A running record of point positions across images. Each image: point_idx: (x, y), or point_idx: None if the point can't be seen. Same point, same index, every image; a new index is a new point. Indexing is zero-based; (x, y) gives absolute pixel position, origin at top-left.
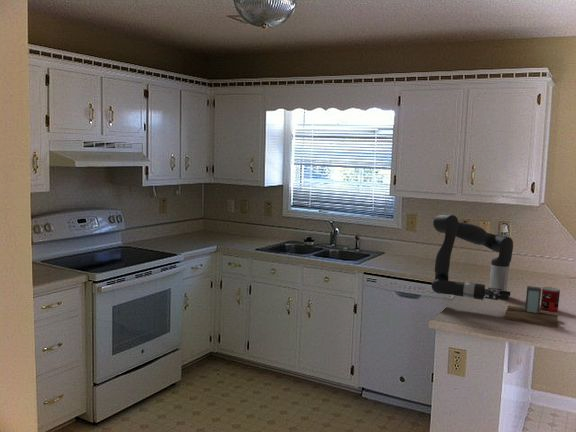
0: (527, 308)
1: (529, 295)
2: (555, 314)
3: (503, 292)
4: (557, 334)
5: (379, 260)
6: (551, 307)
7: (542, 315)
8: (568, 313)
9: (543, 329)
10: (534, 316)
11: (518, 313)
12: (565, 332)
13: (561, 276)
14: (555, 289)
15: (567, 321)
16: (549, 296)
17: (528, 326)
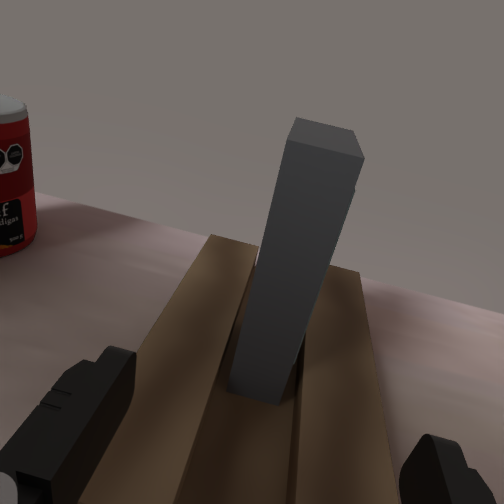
0: (301, 342)
1: (338, 235)
2: (253, 250)
3: (72, 470)
4: (475, 336)
5: None
6: (31, 219)
7: (318, 305)
8: (63, 205)
9: (443, 370)
10: (371, 351)
11: (378, 447)
12: (409, 301)
13: None
14: None
15: None
16: (15, 159)
17: (455, 439)
